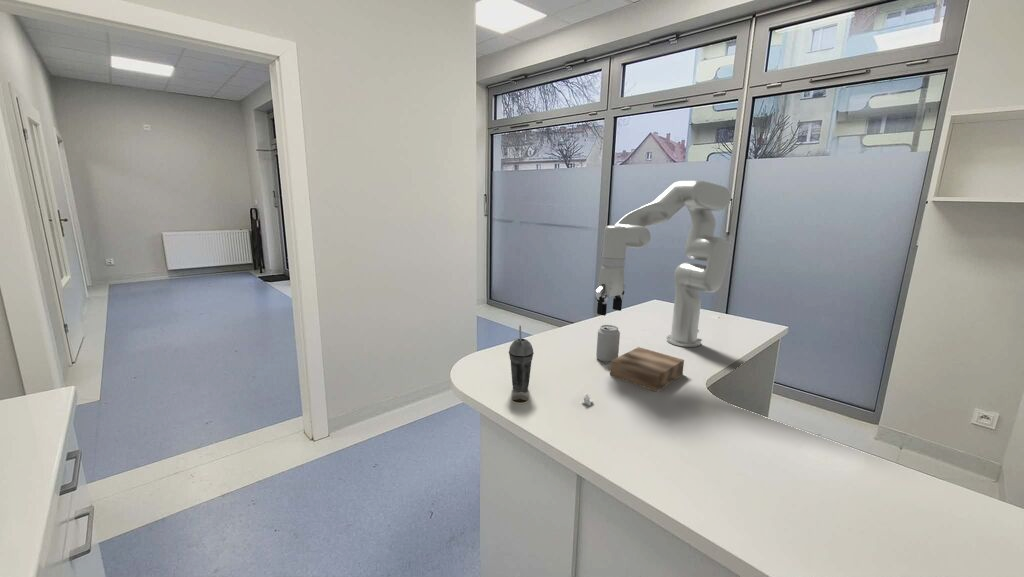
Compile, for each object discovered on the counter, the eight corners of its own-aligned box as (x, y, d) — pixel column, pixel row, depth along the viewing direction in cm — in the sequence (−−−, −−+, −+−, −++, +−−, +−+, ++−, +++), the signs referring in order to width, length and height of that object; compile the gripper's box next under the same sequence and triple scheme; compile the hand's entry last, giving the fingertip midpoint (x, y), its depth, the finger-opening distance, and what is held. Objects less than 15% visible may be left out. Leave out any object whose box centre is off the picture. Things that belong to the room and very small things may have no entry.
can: (593, 355, 152) (595, 323, 149) (613, 355, 153) (616, 323, 150) (599, 363, 145) (601, 330, 142) (620, 363, 145) (623, 330, 143)
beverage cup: (536, 386, 127) (538, 322, 122) (526, 396, 120) (528, 330, 116) (514, 381, 130) (515, 319, 125) (503, 391, 123) (504, 326, 119)
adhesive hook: (586, 401, 119) (587, 391, 118) (594, 405, 117) (595, 394, 116) (580, 405, 117) (581, 395, 116) (588, 408, 115) (588, 398, 114)
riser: (637, 360, 148) (638, 347, 147) (682, 374, 137) (684, 359, 136) (609, 375, 136) (610, 360, 134) (656, 391, 125) (658, 376, 124)
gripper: (617, 259, 150) (613, 306, 153) (589, 263, 138) (585, 314, 141) (636, 262, 145) (631, 310, 148) (609, 266, 132) (604, 319, 136)
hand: (609, 312), depth 145 cm, fingers open, 9 cm apart
